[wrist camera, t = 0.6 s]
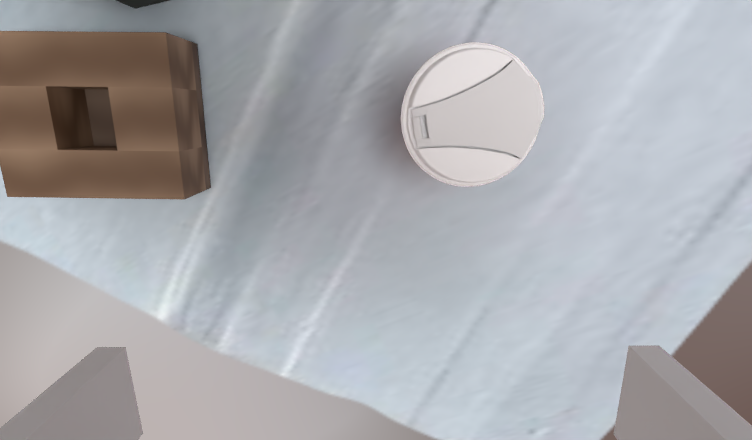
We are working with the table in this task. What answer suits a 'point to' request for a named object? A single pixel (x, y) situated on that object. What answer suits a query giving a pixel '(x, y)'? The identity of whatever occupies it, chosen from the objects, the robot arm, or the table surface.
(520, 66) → the paper cup
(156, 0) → the wine bottle
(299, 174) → the table surface
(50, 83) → the bore block
